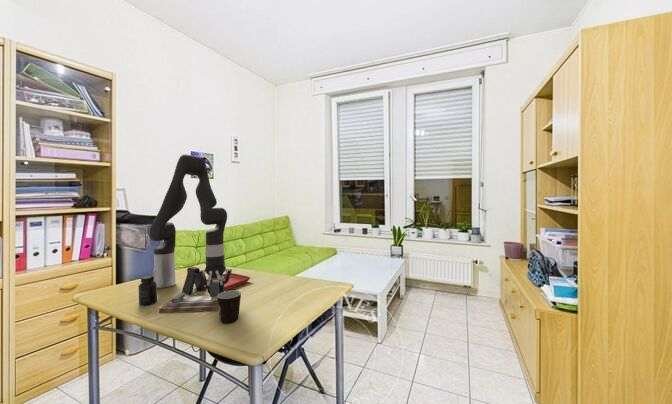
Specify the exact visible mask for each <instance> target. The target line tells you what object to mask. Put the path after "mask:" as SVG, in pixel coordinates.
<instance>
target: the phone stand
mask: <svg viewBox="0 0 672 404" xmlns="http://www.w3.org/2000/svg"><path fill="white" fill-rule="evenodd" d="M186 270H187V271H186V272H187V273H186V277H185V280H184V284H183V287H182V291H181V293H185V295H188V296H190V295H194V294H197V293H200V292H203V291H206V290H207V288H206V286H205V285H203V284H202V281H201V278H200V276H199V271H201V270H200V268H199V267H196V266H195V267H194V266H188V267H187V269H186ZM194 286H195V287H194Z"/></svg>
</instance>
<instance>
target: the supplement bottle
mask: <svg viewBox="0 0 672 404" xmlns="http://www.w3.org/2000/svg"><path fill="white" fill-rule="evenodd" d="M153 280H154V276H153V274H152V275H149V274H148V275H144V276H142V277H140V283H139V284H138V286H137V287H138V305H139V306H140V307H147V306H153V305H155V304H156V303H157V302H158V288H157V283H156V282H155V281H153Z"/></svg>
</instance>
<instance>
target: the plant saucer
mask: <svg viewBox="0 0 672 404" xmlns="http://www.w3.org/2000/svg"><path fill="white" fill-rule="evenodd" d="M226 276H227V274H226V273H223V277H224V281H225V279H226ZM251 278H252V277H251V276H248V275H243V274H238V273H233V272H232V273H231V276H230V279H229V282H228V283H227V284H224V288H225V290H224V292H225V291H229V290H231V289H234V288H236V287H238V286H241V285H244V284H246V283H248V282H249V280H250V279H251ZM206 279H207V281H208V278H206ZM213 280H218V278H213ZM204 285H205V284H204ZM206 287H207V285H205V288H206Z"/></svg>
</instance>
